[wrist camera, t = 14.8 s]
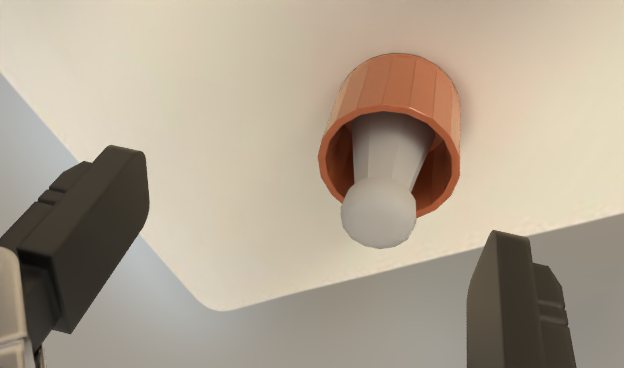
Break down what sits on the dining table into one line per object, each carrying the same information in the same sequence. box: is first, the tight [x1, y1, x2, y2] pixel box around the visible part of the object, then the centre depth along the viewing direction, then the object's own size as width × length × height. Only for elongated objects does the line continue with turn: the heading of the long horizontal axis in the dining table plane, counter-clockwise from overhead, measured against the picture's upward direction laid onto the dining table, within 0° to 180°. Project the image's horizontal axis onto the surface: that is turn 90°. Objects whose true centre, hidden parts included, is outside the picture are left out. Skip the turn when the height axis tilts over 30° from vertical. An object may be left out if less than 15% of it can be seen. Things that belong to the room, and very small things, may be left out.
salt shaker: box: [341, 111, 435, 249], centre depth 37 cm, size 6×6×13 cm
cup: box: [318, 53, 460, 218], centre depth 40 cm, size 9×9×8 cm
